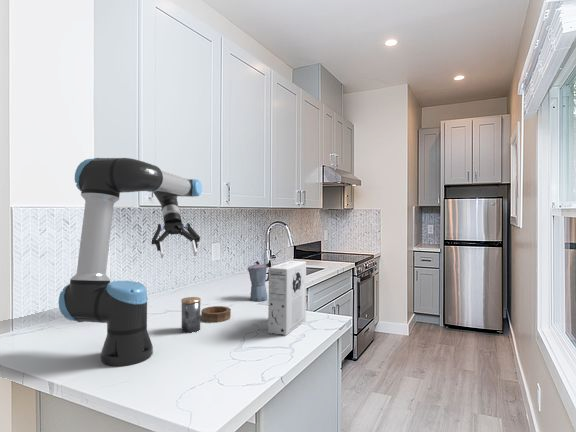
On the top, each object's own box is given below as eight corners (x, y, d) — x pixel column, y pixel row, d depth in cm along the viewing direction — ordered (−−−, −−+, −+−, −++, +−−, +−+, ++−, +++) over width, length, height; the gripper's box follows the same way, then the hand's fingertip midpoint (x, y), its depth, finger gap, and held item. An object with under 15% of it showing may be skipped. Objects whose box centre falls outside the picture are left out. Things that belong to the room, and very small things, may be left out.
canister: (203, 331, 143) (203, 300, 143) (184, 334, 139) (184, 302, 139) (197, 326, 149) (197, 296, 149) (179, 328, 146) (179, 298, 145)
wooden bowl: (234, 319, 158) (234, 311, 158) (207, 323, 152) (207, 315, 152) (224, 312, 168) (224, 304, 168) (198, 316, 162) (198, 308, 162)
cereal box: (289, 317, 161) (290, 260, 161) (306, 320, 158) (306, 261, 158) (267, 333, 141) (268, 267, 141) (286, 336, 138) (286, 269, 138)
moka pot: (241, 300, 191) (242, 261, 191) (263, 295, 202) (263, 258, 202) (254, 303, 185) (254, 263, 184) (276, 298, 196) (276, 260, 195)
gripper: (198, 221, 176) (207, 258, 164) (141, 223, 165) (146, 262, 152) (200, 211, 171) (210, 247, 159) (143, 212, 160) (148, 251, 147)
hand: (179, 255), depth 156 cm, fingers open, 13 cm apart
